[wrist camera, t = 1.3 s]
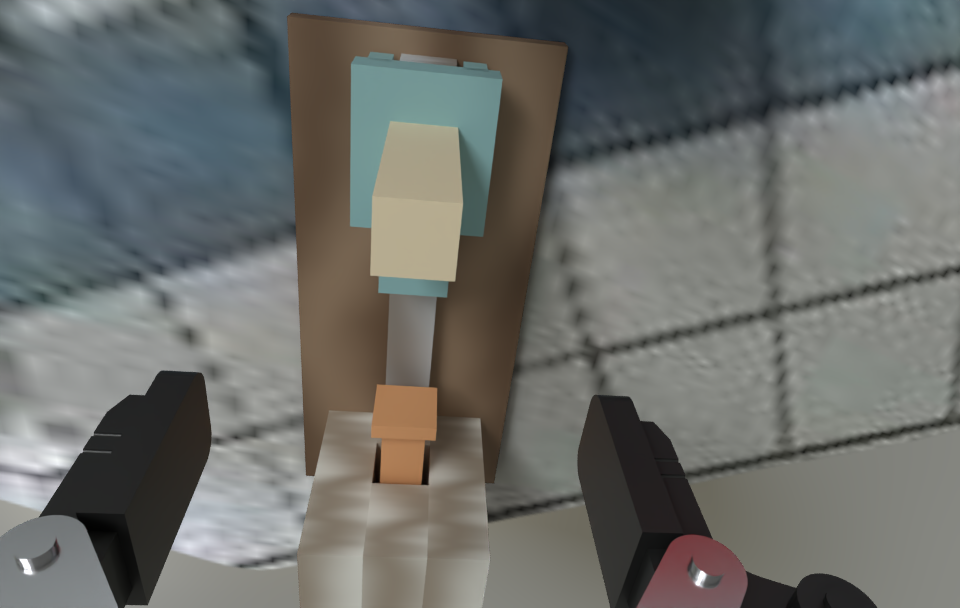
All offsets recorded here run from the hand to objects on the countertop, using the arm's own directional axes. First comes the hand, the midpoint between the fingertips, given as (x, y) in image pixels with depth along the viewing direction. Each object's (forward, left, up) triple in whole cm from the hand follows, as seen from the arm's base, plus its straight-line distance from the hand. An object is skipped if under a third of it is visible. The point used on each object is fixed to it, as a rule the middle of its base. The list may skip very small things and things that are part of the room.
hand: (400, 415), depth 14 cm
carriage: (0, +1, -19) cm, 19 cm away
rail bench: (0, +9, -20) cm, 22 cm away
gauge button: (0, +16, -17) cm, 23 cm away
